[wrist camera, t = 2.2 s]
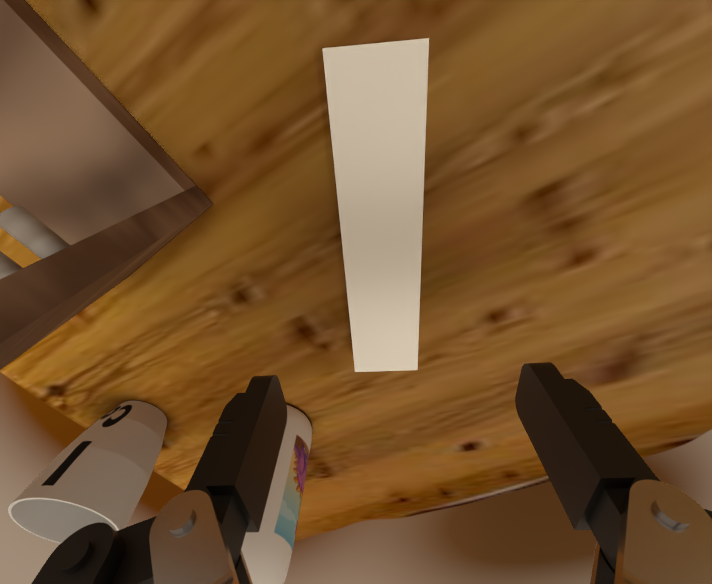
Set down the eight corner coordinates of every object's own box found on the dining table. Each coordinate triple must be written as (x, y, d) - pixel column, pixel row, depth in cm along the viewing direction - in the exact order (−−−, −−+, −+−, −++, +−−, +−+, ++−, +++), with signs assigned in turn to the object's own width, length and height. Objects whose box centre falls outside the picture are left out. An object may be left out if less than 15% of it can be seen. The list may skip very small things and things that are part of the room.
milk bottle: (230, 431, 34) (92, 760, 17) (256, 389, 31) (115, 749, 14) (294, 454, 36) (228, 773, 19) (326, 417, 33) (280, 767, 15)
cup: (131, 378, 31) (39, 485, 22) (198, 423, 34) (140, 532, 25) (87, 410, 33) (-11, 517, 25) (153, 449, 36) (87, 556, 28)
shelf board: (328, 56, 18) (322, 48, 15) (419, 47, 17) (429, 38, 15) (356, 347, 28) (355, 372, 26) (412, 345, 28) (417, 369, 25)
